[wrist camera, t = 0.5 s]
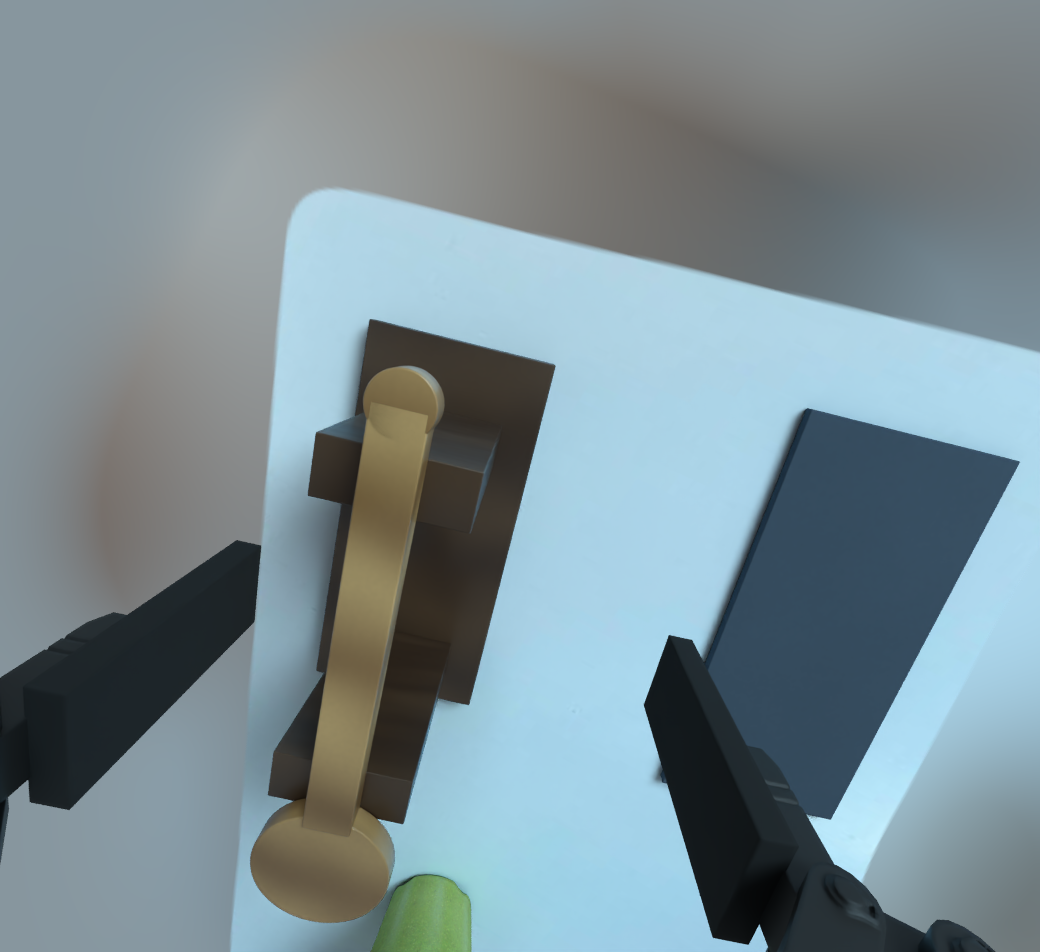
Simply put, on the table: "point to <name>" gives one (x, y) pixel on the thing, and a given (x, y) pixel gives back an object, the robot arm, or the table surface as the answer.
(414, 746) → the rack
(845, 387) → the table surface
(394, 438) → the ladle
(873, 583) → the mat
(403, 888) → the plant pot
